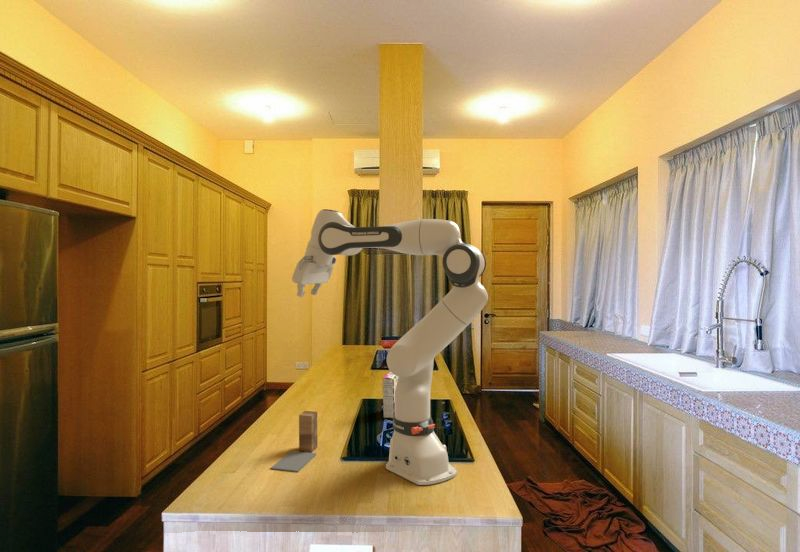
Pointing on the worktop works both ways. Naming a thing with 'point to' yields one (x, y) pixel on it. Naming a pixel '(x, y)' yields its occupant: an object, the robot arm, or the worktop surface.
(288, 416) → the worktop surface
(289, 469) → the mat
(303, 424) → the block
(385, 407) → the candy bar box
